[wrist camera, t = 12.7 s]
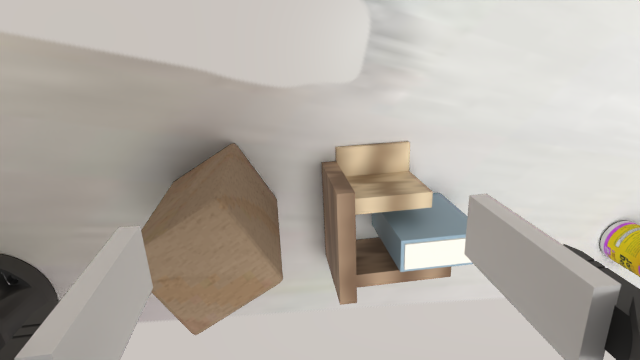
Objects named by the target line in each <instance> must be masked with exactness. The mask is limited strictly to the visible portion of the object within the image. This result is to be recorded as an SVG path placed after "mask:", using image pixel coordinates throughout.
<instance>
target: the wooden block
mask: <svg viewBox="0 0 640 360" xmlns="http://www.w3.org/2000/svg"><path fill="white" fill-rule="evenodd" d="M141 232H142V237H143V242H144V247H145V251H146V256H147V261H148V266H149V270H150V275H151V280H152V285H153V289H152V291H151V292H152V293H153V294H154V295H155V296H156V297H157V298H158V299H159V300H160V301H161V302H162V303H163V304H164V305H165V306H166V307H167V308H168V309H169V311H170V312H171V313H172V314H173V315H174V316H175V317H176V318H177V319H178V320H179V321H180V322H181V323H182V324H183V325H184V326H185V327H186V328H187V329H188V330H189V331H190V332H191V333H192V334H194V335H197V334H199V333H201V332H202V331H204V330H206V329H207V328H209V327H210V326H212V325H214V324H215V323H217V322H218V321H220V320H222V319H223V318H225V317H226V316H228V315H230V314H231V313H233V312H234V311H236V310H238V309H239V308H241V307H242V306H244V305H246V304H247V303H249V302H250V301H252V300H253V299H255V298H257V297H258V296H260V295H261V294H263V293H265V292H266V291H268V290H269V289H271V288H273V287H274V286H276V285H277V284H279V283H280V282H281V281H282V279H283V275H282V262H281V248H280V235H279V222H278V208H277V199H276V197H275V196H274V195H273V193H272V192H271V191H270V189H269V188H268V187H267V185H266V184H265V183H264V181H263V180H262V179H261V177H260V176H259V175H258V173H257V172H256V170H255V169H254V168H253V166H252V165H251V164H250V162H249V161H248V160H247V158H246V157H245V156H244V154H243V153H242V152H241V150H240V149H239V148H238V146H237V145H236V144H234V143H233V144H230V145H229V146H227V147H226V148H224V149H223V150H221V151H220V152H218V153H217V154H215V155H213V156H212V157H210V158H209V159H207V160H206V161H204V162H203V163H201V164H200V165H198V166H197V167H195V168H194V169H192V170H191V171H189V172H188V173H186V174H185V175H183V176H182V177H180V178H179V179H177V180H176V181H174V182H173V184H172V185H171V187H170V188H169V190H168V191H167V193H166V194H165V196H164V197H163V199H162V200H161V202H160V203H159V205H158V206H157V208H156V209H155V211H154V212H153V214H152V215H151V217H150V218H149V220H148V221H147V223H146V224H145V226H144V227H143V229H142V230H141Z"/></svg>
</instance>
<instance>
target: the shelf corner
mask: <svg viewBox="0 0 640 360" xmlns="http://www.w3.org/2000/svg"><path fill="white" fill-rule="evenodd" d="M321 163H322V185H323V207H324V230H325V252H326V257H327V261H328V264H329V268H330V271H331V274H332V278H333V281H334V285H335V288H336V292H337V295H338V299H339V302H340V305H341V304H350V303H357V287H365V286H373V285H382V284H391V283H399V282H408V281H416V280H425V279H434V278H442V277H450V276H451V266H450V267H441V268H432V269H423V270H414V271H405V272H400V271H399V269H398V267H397V266H396V264H395V262H394V260H393V259H392V257H391V255H390V254H389V252H388V250H387V249H386V247H385V245H384V244H383V242H382V240H381V239H380V238H370V239H361V240H356V221H355V192H354V190H353V188H352V187H351V185H350V183H349V182H348V180H347V178H346V177H345V175H344V173H343V172H342V170H341V169H340V167H339V165H338V164H337V162H336V161H334V162H321Z"/></svg>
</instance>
